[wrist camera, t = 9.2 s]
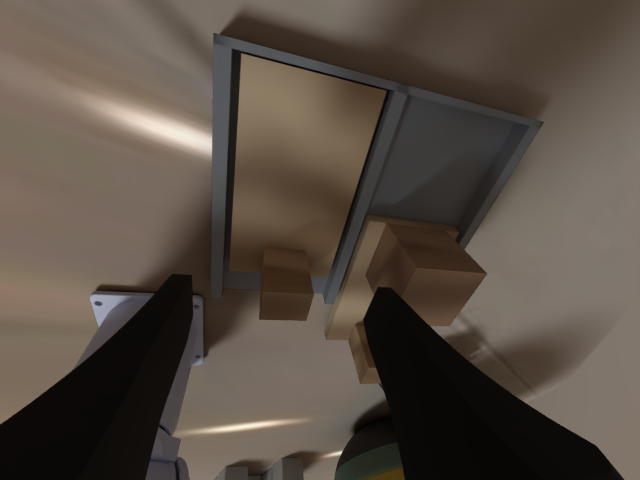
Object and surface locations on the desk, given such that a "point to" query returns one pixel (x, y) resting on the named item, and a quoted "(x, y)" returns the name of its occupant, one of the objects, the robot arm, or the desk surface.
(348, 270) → the brown angular piece
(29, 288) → the desk surface
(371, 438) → the planter
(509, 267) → the desk surface
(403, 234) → the walnut block
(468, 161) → the tray board
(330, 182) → the front strip
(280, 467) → the puzzle cube
